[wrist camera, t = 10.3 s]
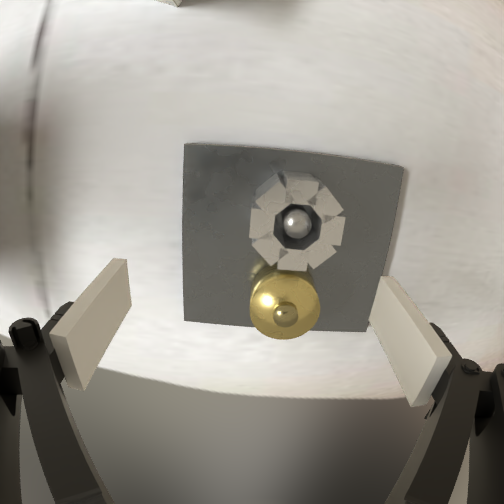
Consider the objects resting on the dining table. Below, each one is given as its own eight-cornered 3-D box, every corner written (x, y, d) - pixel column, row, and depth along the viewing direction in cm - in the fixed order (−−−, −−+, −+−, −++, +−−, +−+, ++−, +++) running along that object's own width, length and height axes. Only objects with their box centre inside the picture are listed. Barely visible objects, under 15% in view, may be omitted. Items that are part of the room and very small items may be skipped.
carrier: (186, 315, 38) (174, 346, 32) (187, 143, 30) (170, 147, 25) (363, 326, 38) (376, 357, 32) (398, 165, 30) (426, 175, 25)
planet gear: (248, 246, 33) (246, 266, 28) (254, 168, 30) (253, 176, 25) (325, 252, 33) (335, 273, 28) (336, 176, 30) (350, 186, 25)
